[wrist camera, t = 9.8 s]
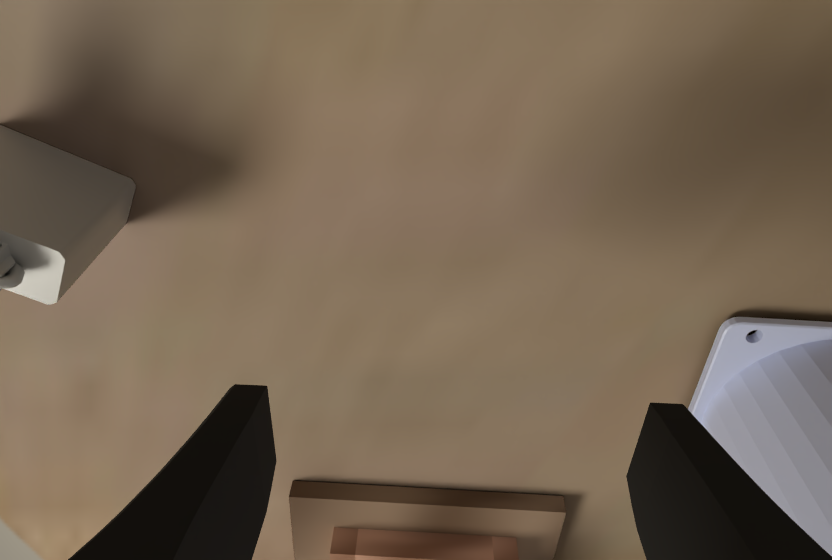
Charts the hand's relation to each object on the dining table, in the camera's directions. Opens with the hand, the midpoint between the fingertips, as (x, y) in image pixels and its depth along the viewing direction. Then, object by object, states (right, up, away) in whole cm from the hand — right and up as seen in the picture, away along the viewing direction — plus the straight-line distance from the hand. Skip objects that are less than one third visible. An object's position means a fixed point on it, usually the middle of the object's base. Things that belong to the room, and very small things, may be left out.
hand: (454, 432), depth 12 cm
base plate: (-1, -10, +17) cm, 20 cm away
